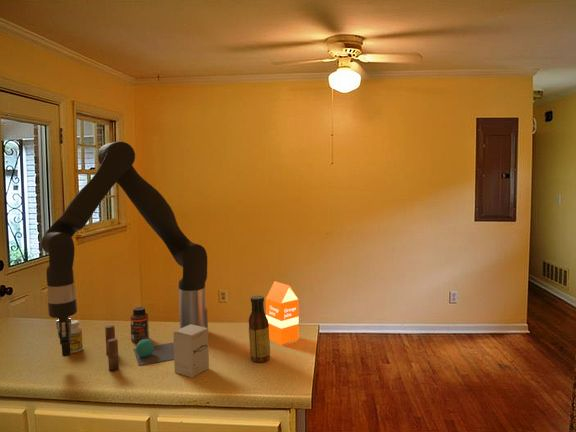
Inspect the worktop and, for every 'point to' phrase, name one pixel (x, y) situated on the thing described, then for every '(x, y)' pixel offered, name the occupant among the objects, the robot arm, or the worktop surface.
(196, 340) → the supplement box
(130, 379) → the worktop surface
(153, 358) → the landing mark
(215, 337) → the worktop surface
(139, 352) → the ball
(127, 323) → the worktop surface
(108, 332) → the post far
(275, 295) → the orange juice
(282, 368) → the worktop surface
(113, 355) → the post near
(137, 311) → the supplement bottle
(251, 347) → the sauce bottle
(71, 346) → the supplement bottle
